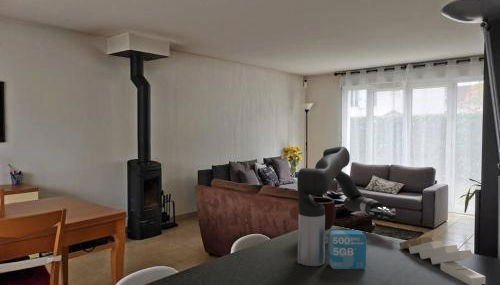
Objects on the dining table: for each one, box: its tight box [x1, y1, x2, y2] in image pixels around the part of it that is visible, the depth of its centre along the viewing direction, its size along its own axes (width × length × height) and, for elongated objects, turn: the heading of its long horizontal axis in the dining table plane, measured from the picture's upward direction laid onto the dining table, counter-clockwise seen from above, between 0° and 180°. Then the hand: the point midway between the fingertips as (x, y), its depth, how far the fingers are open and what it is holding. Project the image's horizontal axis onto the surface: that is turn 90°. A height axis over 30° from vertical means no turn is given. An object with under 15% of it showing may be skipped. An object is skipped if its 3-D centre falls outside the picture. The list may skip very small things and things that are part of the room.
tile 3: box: [418, 244, 459, 260], centre depth 130 cm, size 2×5×13 cm
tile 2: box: [408, 240, 445, 255], centre depth 136 cm, size 2×5×13 cm
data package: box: [327, 229, 367, 270], centre depth 128 cm, size 12×4×12 cm, turn 88°
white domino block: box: [429, 249, 474, 265], centre depth 125 cm, size 2×5×13 cm
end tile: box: [440, 261, 486, 285], centre depth 119 cm, size 2×5×13 cm
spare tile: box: [398, 235, 434, 250], centre depth 141 cm, size 2×5×13 cm
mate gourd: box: [309, 195, 337, 246], centre depth 157 cm, size 16×14×20 cm
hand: (394, 217), depth 154 cm, fingers closed
